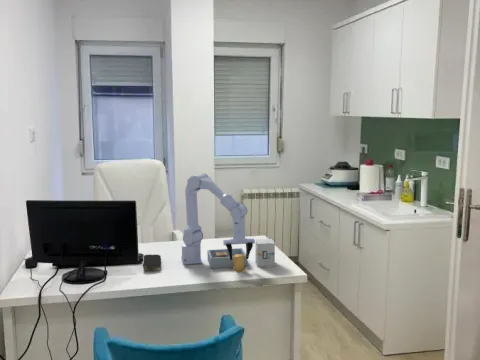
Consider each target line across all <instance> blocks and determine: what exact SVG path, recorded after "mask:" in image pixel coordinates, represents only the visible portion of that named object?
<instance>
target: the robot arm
mask: <svg viewBox="0 0 480 360" xmlns="http://www.w3.org/2000/svg"><path fill="white" fill-rule="evenodd" d="M186 180H187V183H186V186H185V190H184V192H185V193H184V194H185V208H186V209H185V210H186V227H185V228H184V230H183V235H182V241H183V243H184V244H181V262H182V265H194V264H203V261H202V255H201V254H202V253H201V251H202V250H201V246H202V245H201V243H202V240H203V239H204V233H203V231H202V226H201V225H200V224H199V214H198V213H199V212H198V211H199V210H198V193H199V192H200V191H201V190H207V191H209V193H211V194H212V195H214V196H215V197H217V198H218V199H219V203H220V204H221V205H222V206H223V207H224V208H225V209H227V211H229V213H230V214H229V215H230V216H231V218H232V238H229V239H224V240H223V242H222V243H223V246H225V247H226V249H228V252H229V255H230V260H232V249H233V247H232V246H233V245H245V251H246V252H245V254H246V258H247V260H249V257H250V253H251V251H252V249H253V246H254V244H255V245H256V239H255V238H246V215H247V214H248V208H247V206H246V204H243V203H240V202H239V201H237V200H236V199H235V198H234V197H233V195H232V194H230V193H225V192H223V190H222V189H221V188H220V187H219V186H218V185H217V184H216V183H215V182H214V181H213V180H212V177H210V176H209V175H208V174H207V173H200V174H196V175H192V176H190V177H189V178H188V179H186Z"/></svg>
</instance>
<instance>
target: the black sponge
mask: <svg viewBox="0 0 480 360" xmlns="http://www.w3.org/2000/svg"><path fill="white" fill-rule="evenodd" d="M161 263H162V258H161V255H160V254H144V255H143V262H142V270H143V271H148V272H149V271H152V272H153V271H155V272H156V271H157V272H158V271H161V270H162V267H161Z"/></svg>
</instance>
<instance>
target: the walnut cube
mask: <svg viewBox="0 0 480 360" xmlns="http://www.w3.org/2000/svg"><path fill="white" fill-rule="evenodd" d="M216 257H227V253H226V252H216Z"/></svg>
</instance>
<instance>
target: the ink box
mask: <svg viewBox="0 0 480 360" xmlns="http://www.w3.org/2000/svg"><path fill="white" fill-rule="evenodd" d="M275 246H276V244H275V241H274V240H273V238H260V239H259V238H258V239H257V238H256V239H255V264H256V266H257V268H266V267H268V268H269V267H271V268H272V267H276V266H275V264H276V260H275V259H276V256H275V254H276V252H275V250H276V249H275V248H276V247H275Z"/></svg>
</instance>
